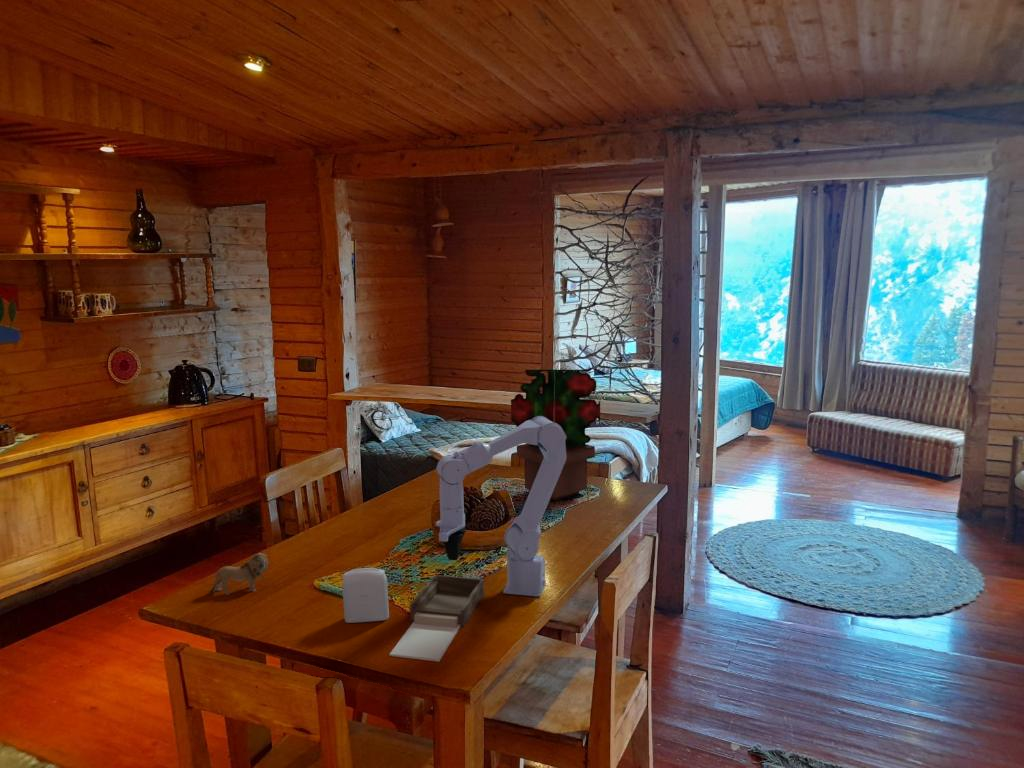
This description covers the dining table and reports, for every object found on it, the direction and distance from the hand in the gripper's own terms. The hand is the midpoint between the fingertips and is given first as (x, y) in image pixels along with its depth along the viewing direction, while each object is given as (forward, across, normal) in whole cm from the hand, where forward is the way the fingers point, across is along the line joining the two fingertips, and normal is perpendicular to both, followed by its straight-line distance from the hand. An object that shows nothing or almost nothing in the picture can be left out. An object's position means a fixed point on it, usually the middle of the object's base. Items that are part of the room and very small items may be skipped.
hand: (453, 559), depth 178 cm
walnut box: (+10, +4, 0) cm, 11 cm away
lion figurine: (+11, +6, -55) cm, 57 cm away
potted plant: (+11, -87, +10) cm, 88 cm away
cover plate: (+11, +21, 0) cm, 23 cm away
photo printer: (+11, +14, -17) cm, 24 cm away
